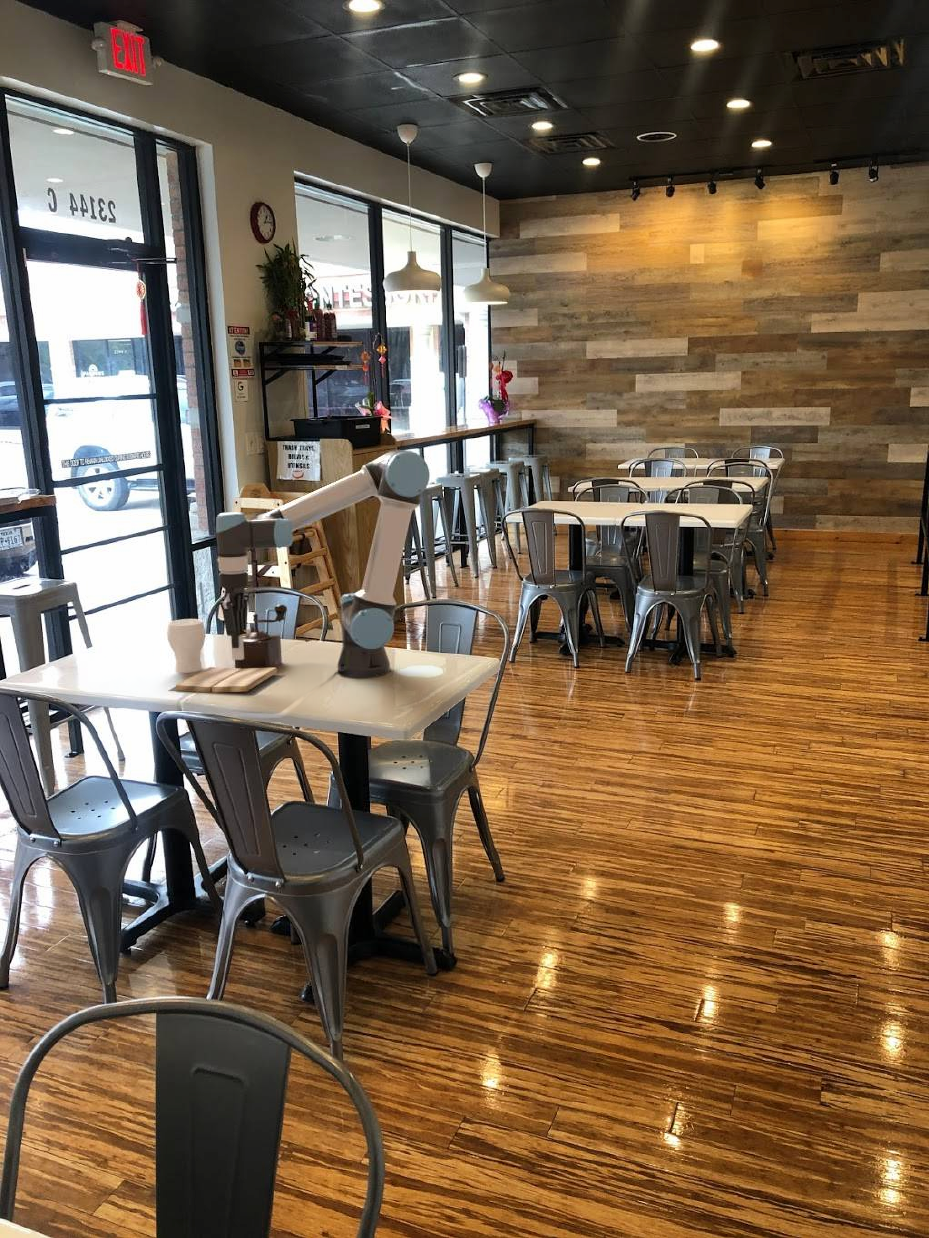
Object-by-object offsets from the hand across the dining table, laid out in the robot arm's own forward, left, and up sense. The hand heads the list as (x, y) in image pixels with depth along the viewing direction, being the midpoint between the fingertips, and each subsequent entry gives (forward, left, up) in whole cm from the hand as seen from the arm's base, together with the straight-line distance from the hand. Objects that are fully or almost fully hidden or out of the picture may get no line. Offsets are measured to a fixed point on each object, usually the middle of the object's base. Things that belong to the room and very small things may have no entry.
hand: (238, 658), depth 280 cm
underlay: (+6, -6, -10) cm, 13 cm away
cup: (+24, -18, -10) cm, 32 cm away
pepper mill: (+5, -28, -10) cm, 30 cm away
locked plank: (+12, -6, -9) cm, 16 cm away
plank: (+1, -6, -8) cm, 10 cm away
